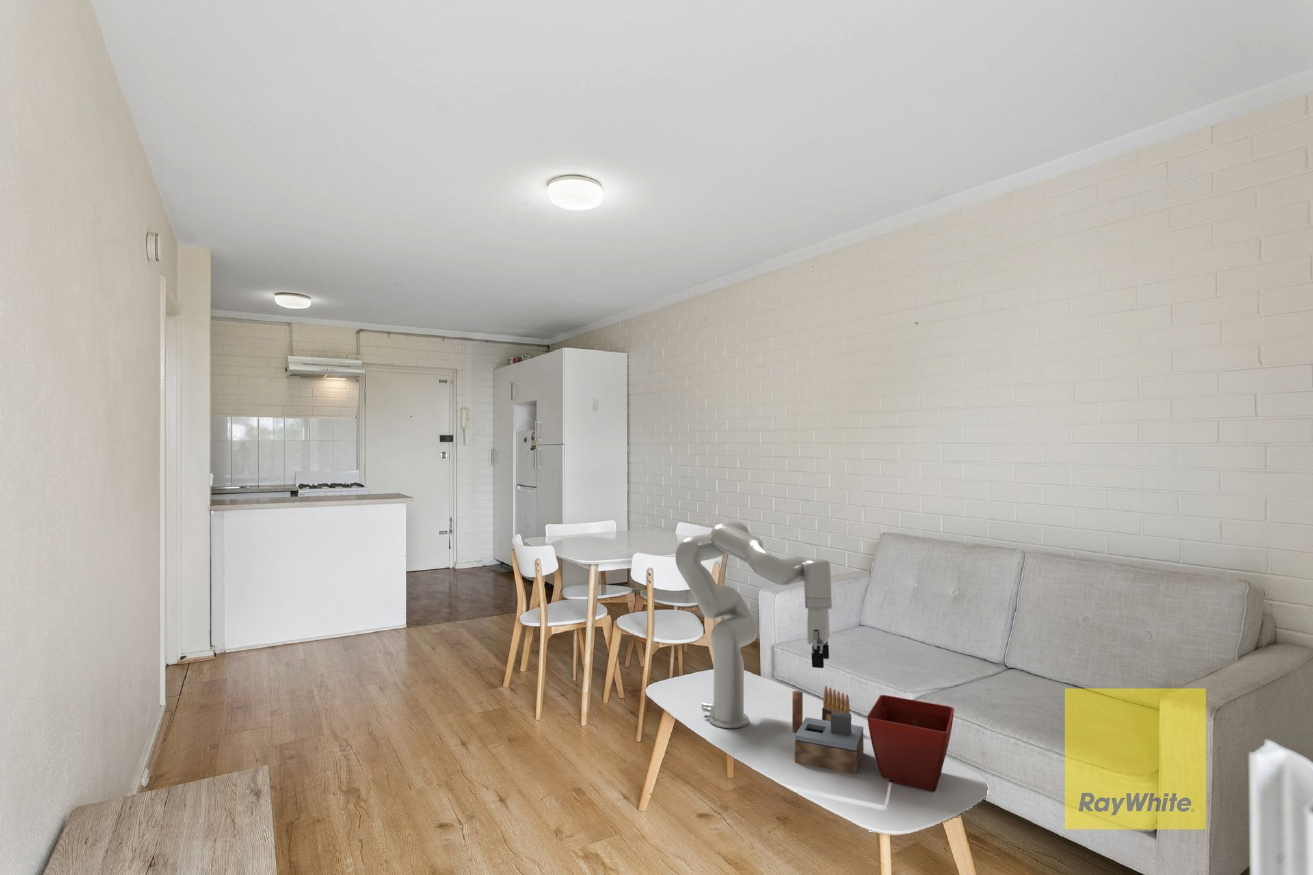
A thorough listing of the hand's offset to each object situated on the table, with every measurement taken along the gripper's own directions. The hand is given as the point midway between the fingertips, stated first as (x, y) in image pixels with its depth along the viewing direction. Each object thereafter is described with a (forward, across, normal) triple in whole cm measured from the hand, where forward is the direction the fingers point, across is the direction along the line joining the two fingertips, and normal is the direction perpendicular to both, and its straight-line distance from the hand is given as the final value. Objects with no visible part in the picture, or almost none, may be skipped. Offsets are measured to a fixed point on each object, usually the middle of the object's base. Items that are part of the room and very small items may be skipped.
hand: (820, 662), depth 191 cm
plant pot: (+26, +7, +24) cm, 36 cm away
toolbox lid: (+18, +7, +3) cm, 19 cm away
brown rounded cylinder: (+24, -8, -9) cm, 27 cm away
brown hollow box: (+24, +7, +2) cm, 26 cm away
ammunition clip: (+24, -16, +1) cm, 29 cm away
